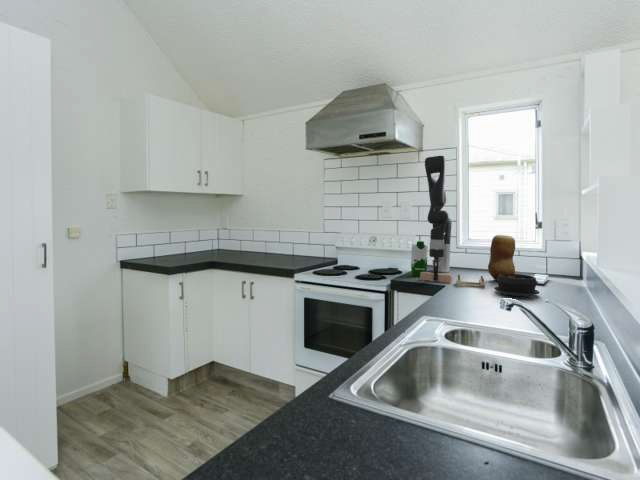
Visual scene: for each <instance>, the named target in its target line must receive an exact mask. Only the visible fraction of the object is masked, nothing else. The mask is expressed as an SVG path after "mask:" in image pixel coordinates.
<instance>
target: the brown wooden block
mask: <svg viewBox="0 0 640 480" xmlns="http://www.w3.org/2000/svg"><path fill="white" fill-rule="evenodd" d="M433 279H434V273H433V272H428V271H427V272H421V273H420V277H419V280H420V281H424V280H430V281H429V282H434V280H433ZM437 281H439V282H438V283H444V282H446V284H447V283H448V284H451V283H453V274H451V273H442V272H439V273H438V280H437Z"/></svg>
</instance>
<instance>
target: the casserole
mask: <svg viewBox="0 0 640 480" xmlns="http://www.w3.org/2000/svg"><path fill="white" fill-rule="evenodd" d="M496 280H497V281H498V282H497V281H496V282H497V283H498V284H497V285H498V286H494V291H497V292H500V293H501V294H503V295H506V296H510V297H520V298H523V297H525V298H527V297H534V296H536V295H539V294H540V291H539V290H537V289H536V287H537V285H538V283H539V282H538V281H537V278H536V276H533V275H528V274H527V275H526V274H521V273H520V274H519V273H515V274H500V275H499V277H498V278H497V279H496Z"/></svg>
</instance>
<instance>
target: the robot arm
mask: <svg viewBox="0 0 640 480" xmlns="http://www.w3.org/2000/svg"><path fill="white" fill-rule="evenodd" d="M446 162H447V161H446V157H445V156H444V155H434V156H428V157H426V158H425V159H424V168H425V175H426V179H427V184H428V185H427V187H428V195H429V202H430V206H429V210H428V214H427V221H428V223H429V224H432V228H431V229H430V240H429V253H428V254H429V257H430V258H433V259H432V273H434V279H433V280H434V281H437V280H438V273H450V263H451V262H450V261H451V259H450V257H451V238H452V237H451V235H452V219H451V217H450V218H449V212H448V211H446V210H442V209H443V208H444V207H445V205H446V203H447V193H446V192H447V191H446V189H445V184H446V172H447V163H446ZM434 174H439V175H438V177H437V179H436V178H435V176H434ZM434 281H433V282H434Z"/></svg>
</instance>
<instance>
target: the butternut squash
mask: <svg viewBox="0 0 640 480" xmlns="http://www.w3.org/2000/svg"><path fill="white" fill-rule="evenodd" d="M515 250H516V240H515V238H514V237H513V236H511V235H504V234H496V235H494V236H493V238H492V239H491V244H490V249H489V253H490V259H489V261H488V265H487V271H488V273H489V275H490V277H491V278H492V279H494V281H496V282H497V283H498V281H497V280H496V279H497V278H498V277H499V275H500V274H516V266H515V263H514V260H513V259H514V255H515Z"/></svg>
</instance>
